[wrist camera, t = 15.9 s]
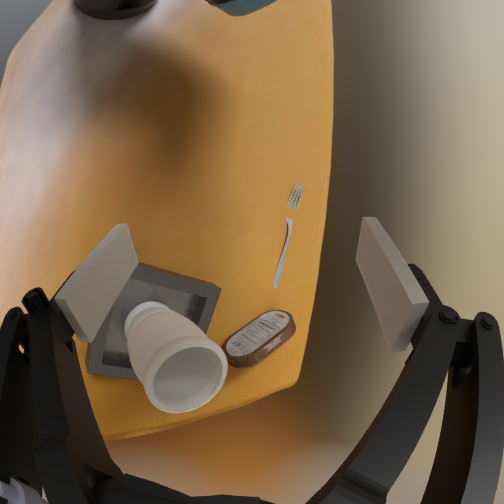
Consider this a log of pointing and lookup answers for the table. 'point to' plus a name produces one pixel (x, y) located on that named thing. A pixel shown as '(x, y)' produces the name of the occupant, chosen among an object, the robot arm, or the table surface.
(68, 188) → the table surface
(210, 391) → the jar
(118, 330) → the dark grey square tray
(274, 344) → the tin
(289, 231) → the fork
